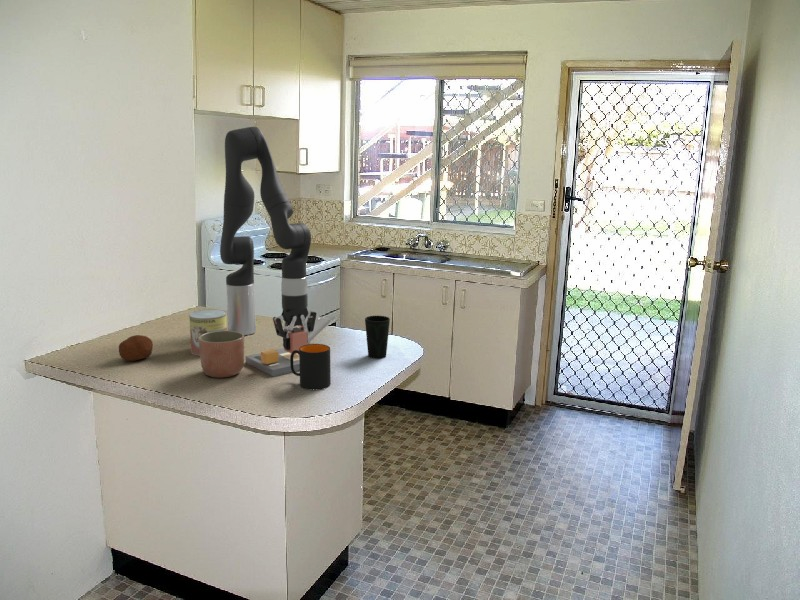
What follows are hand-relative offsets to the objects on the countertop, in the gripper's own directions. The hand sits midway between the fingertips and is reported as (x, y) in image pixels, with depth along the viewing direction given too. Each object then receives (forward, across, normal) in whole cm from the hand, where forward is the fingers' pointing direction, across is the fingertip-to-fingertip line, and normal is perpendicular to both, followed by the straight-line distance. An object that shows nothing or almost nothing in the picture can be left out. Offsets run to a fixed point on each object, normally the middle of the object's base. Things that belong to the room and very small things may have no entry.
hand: (295, 347), depth 201 cm
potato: (+5, -36, +32) cm, 48 cm away
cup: (+5, +23, -10) cm, 26 cm away
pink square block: (+1, 0, 0) cm, 1 cm away
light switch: (+5, +14, +15) cm, 21 cm away
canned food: (+5, -15, +27) cm, 31 cm away
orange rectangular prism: (+2, -9, -1) cm, 10 cm away
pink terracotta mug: (+5, -21, +4) cm, 22 cm away
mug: (+5, -7, -18) cm, 20 cm away
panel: (+5, -4, +1) cm, 6 cm away
